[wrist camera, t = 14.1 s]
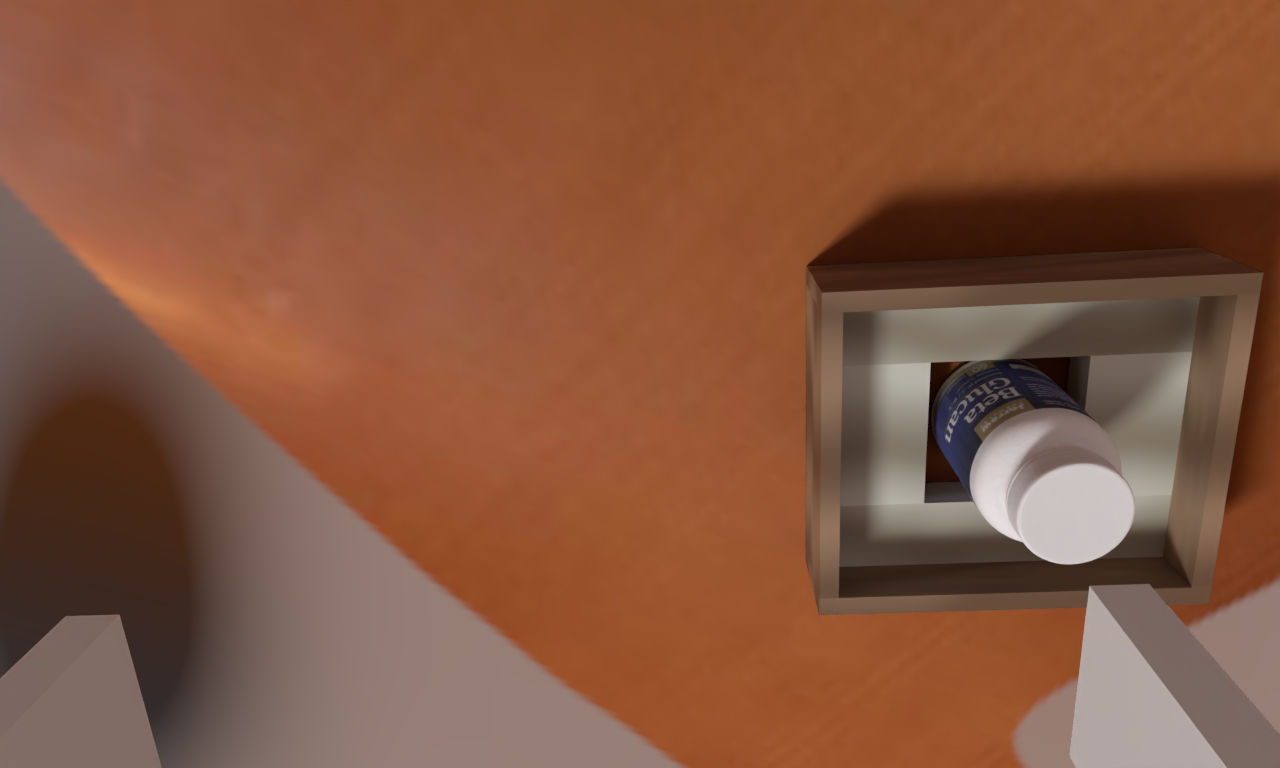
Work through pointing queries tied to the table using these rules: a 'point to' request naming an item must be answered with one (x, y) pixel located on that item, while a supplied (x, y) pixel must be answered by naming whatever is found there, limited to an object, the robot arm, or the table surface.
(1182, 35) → the table surface
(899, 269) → the box
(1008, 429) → the pill bottle
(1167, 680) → the robot arm
